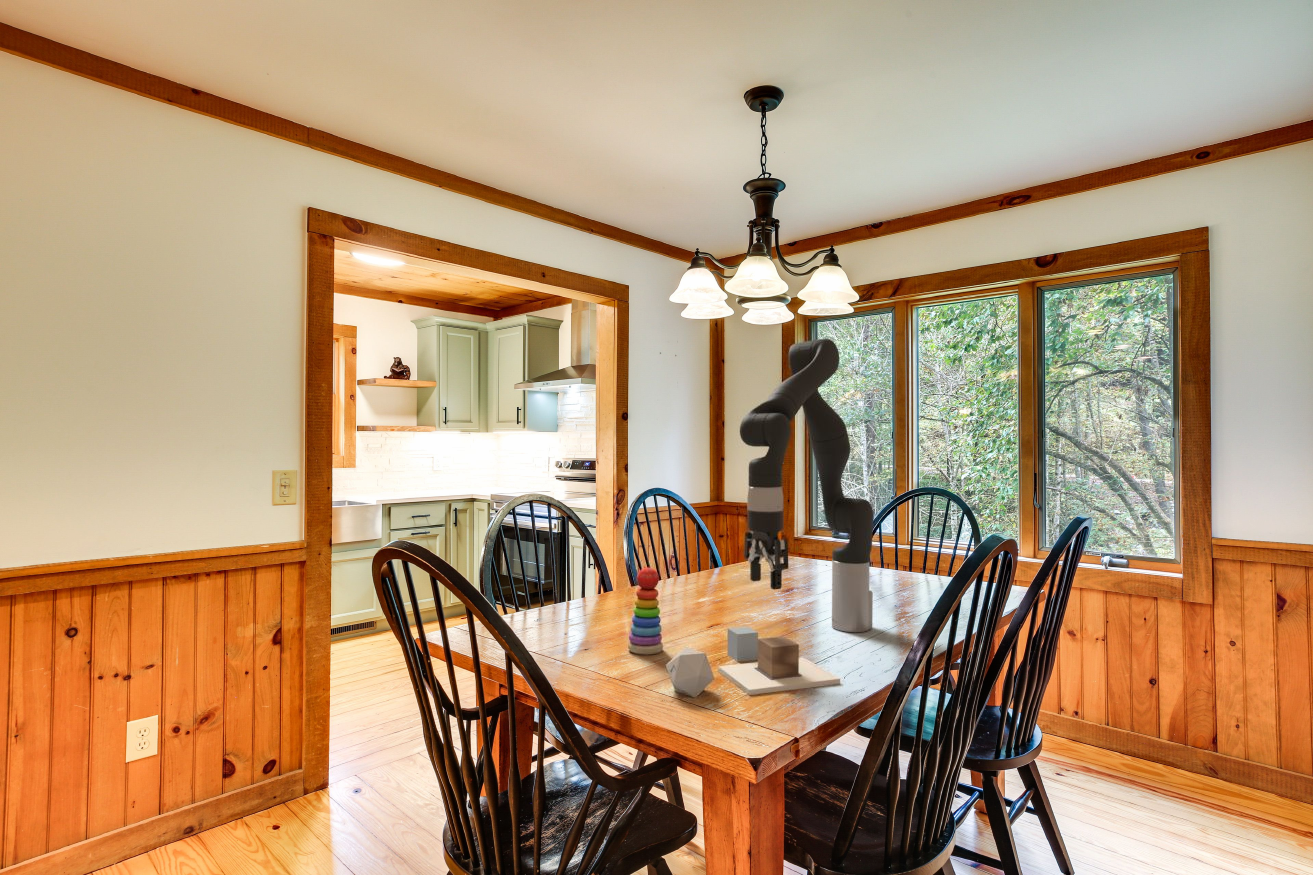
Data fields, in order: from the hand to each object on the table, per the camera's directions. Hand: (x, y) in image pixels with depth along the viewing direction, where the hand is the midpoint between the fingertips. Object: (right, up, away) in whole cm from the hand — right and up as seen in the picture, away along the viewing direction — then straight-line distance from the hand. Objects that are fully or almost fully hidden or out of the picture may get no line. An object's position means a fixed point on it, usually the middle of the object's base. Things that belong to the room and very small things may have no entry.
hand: (765, 584), depth 146 cm
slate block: (-4, -18, +7) cm, 19 cm away
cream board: (+2, -18, -6) cm, 19 cm away
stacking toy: (-26, -18, +11) cm, 33 cm away
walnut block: (+2, -16, -6) cm, 17 cm away
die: (-17, -18, -14) cm, 28 cm away
